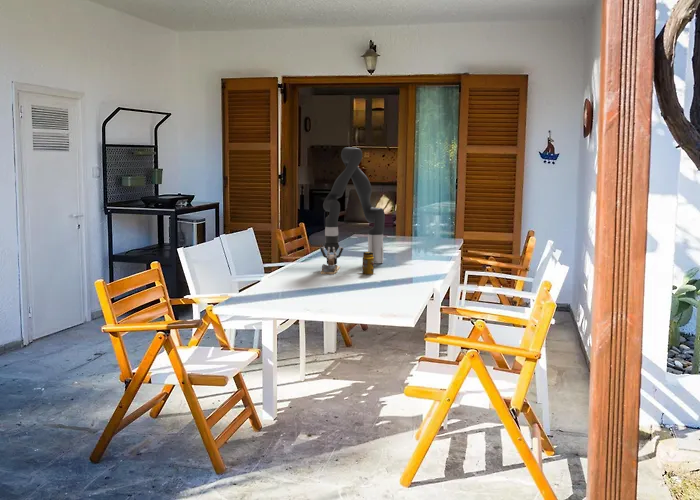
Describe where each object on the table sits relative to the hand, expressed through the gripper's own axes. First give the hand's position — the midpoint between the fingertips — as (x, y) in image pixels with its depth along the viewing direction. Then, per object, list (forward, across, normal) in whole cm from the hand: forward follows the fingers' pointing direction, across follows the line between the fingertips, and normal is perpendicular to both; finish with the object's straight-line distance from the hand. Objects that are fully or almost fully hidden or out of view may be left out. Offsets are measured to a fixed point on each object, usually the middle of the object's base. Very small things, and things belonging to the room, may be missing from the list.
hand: (331, 264), depth 396 cm
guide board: (+3, 0, -5) cm, 6 cm away
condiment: (+3, +21, -14) cm, 26 cm away
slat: (+1, 0, 0) cm, 1 cm away
